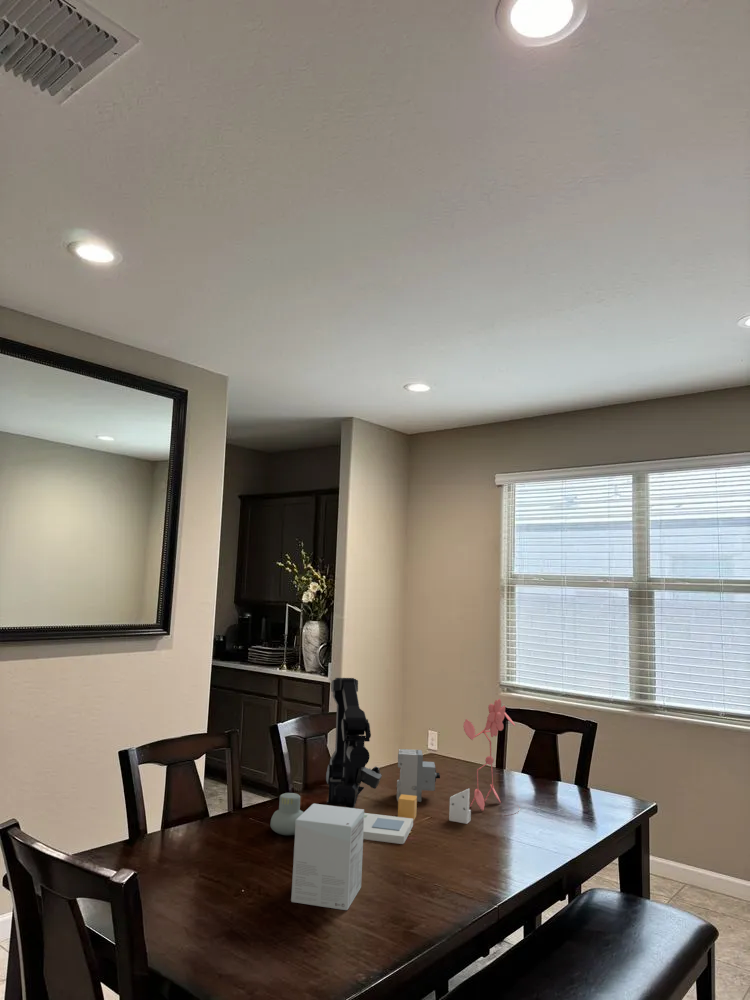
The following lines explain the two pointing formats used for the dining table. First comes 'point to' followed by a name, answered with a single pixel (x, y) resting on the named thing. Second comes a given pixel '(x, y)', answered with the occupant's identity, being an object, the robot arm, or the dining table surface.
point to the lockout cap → (407, 806)
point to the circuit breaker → (415, 774)
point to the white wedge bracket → (460, 807)
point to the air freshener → (286, 814)
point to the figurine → (494, 725)
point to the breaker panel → (386, 828)
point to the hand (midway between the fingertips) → (350, 814)
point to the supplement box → (328, 856)
